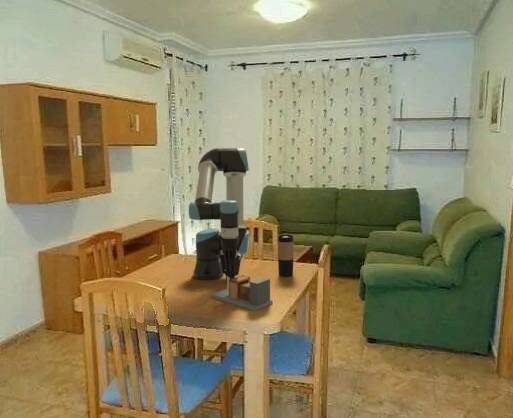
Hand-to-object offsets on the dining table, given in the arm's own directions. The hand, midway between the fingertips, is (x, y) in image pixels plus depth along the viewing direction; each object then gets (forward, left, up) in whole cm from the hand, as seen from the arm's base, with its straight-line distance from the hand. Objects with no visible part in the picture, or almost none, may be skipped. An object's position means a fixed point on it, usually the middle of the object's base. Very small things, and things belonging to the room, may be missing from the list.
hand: (230, 290), depth 193 cm
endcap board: (+6, 0, -3) cm, 7 cm away
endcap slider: (+5, 0, -1) cm, 5 cm away
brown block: (+12, 0, -2) cm, 12 cm away
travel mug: (-2, +41, -3) cm, 41 cm away
